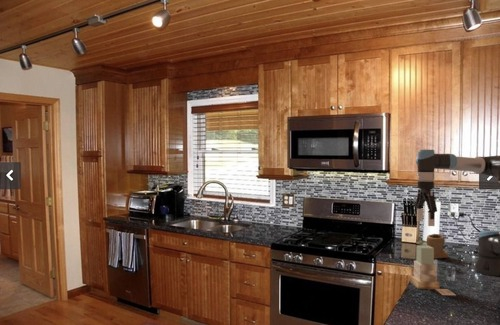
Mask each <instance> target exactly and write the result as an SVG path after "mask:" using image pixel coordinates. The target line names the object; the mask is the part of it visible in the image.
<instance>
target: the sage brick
mask: <svg viewBox="0 0 500 325" xmlns="http://www.w3.org/2000/svg"><path fill="white" fill-rule="evenodd" d="M415 251H416V252H415V253H416V257H415V258H416V259H415V261H417V262H418V263H420V264H424V265H434V264H435V262H434V261H435V258H434V248H432V247H430V246H427V245H423V244H422V245H420V244H419V245H417V244H416V250H415Z"/></svg>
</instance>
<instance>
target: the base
mask: <svg viewBox="0 0 500 325" xmlns="http://www.w3.org/2000/svg"><path fill="white" fill-rule="evenodd" d="M409 282H410V283H411V284H412V285H413V286H415V288H417V289H422V290H424V289H425V290H426V289H427V290H428V289H430V290H433V289H434V290H435V289H441V287H440V281H438V280H437V282H424V281H419V280H418V279H416V278H415V277H414V275H410V279H409Z"/></svg>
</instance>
